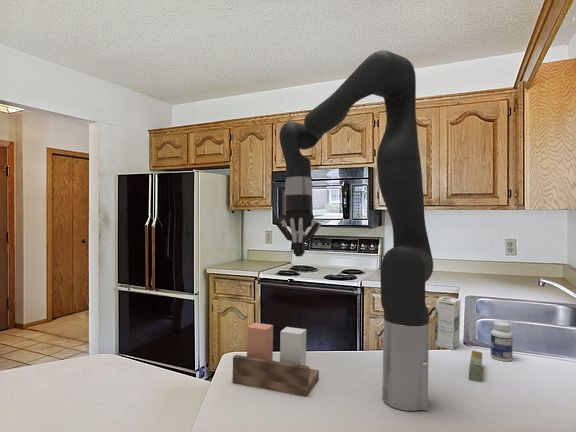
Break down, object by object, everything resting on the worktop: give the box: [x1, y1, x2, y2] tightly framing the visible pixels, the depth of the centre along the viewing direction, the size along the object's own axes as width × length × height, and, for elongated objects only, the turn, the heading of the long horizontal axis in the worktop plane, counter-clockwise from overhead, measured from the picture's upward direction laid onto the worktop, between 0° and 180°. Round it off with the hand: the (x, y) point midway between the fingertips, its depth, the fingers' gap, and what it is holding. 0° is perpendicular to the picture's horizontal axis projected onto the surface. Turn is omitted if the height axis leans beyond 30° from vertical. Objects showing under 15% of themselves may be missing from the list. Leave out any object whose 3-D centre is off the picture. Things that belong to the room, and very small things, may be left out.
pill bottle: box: [490, 321, 514, 362], centre depth 109 cm, size 5×5×10 cm
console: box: [231, 354, 320, 397], centre depth 92 cm, size 18×10×6 cm, turn 70°
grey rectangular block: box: [279, 326, 307, 366], centre depth 90 cm, size 5×4×10 cm
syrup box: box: [433, 296, 461, 351], centre depth 119 cm, size 6×6×14 cm
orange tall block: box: [246, 322, 274, 361], centre depth 94 cm, size 5×4×10 cm
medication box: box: [468, 350, 483, 383], centre depth 99 cm, size 12×3×4 cm, turn 153°
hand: (299, 256), depth 108 cm, fingers closed
